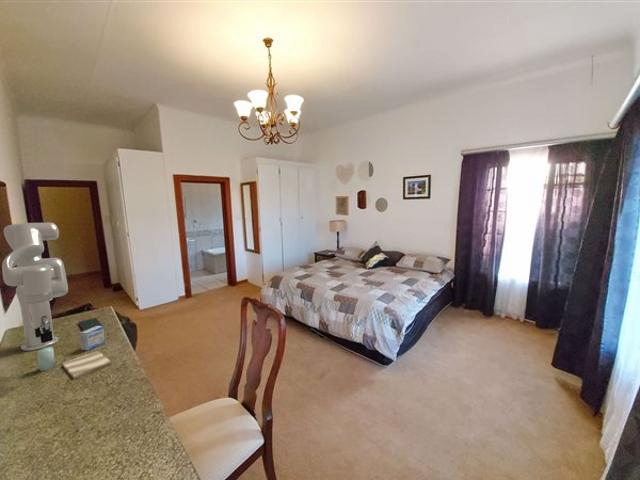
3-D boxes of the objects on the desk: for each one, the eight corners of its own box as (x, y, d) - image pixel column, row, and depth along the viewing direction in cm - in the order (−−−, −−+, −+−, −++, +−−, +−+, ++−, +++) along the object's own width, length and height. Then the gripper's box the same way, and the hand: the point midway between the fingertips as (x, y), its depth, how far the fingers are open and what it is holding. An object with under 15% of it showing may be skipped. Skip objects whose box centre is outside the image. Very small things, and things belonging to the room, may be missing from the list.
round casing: (38, 368, 110) (36, 350, 109) (53, 363, 114) (51, 345, 113) (41, 372, 108) (38, 353, 107) (56, 367, 111) (54, 349, 111)
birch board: (62, 365, 112) (62, 363, 112) (98, 353, 122) (97, 350, 122) (74, 378, 103) (73, 376, 103) (111, 364, 113) (111, 361, 113)
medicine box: (88, 351, 124) (86, 333, 123) (80, 350, 125) (79, 332, 124) (105, 342, 132) (103, 326, 131) (97, 342, 133) (96, 325, 132)
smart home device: (96, 317, 161) (103, 326, 148) (96, 320, 161) (104, 329, 148) (77, 321, 155) (84, 331, 142) (78, 324, 155) (84, 334, 142)
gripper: (21, 297, 109) (26, 337, 111) (30, 304, 100) (35, 348, 101) (47, 292, 115) (51, 331, 117) (57, 298, 106) (62, 340, 107)
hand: (44, 338), depth 109 cm, fingers open, 9 cm apart
